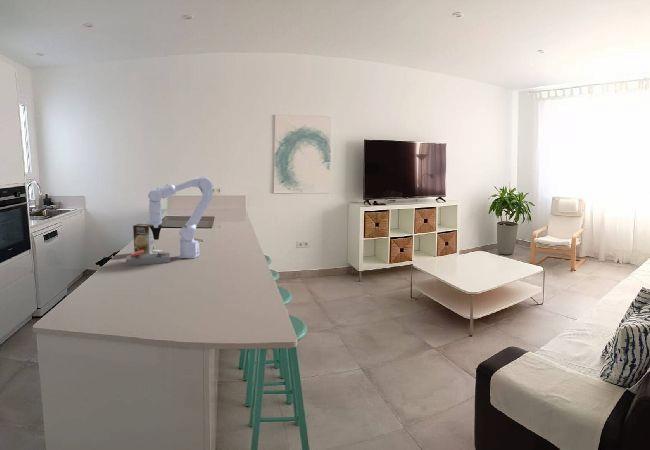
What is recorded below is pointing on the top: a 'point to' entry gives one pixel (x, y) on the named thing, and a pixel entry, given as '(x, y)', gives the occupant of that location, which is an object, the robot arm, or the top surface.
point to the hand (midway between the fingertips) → (156, 239)
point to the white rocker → (158, 251)
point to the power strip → (147, 259)
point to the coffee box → (143, 238)
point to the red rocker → (137, 253)
